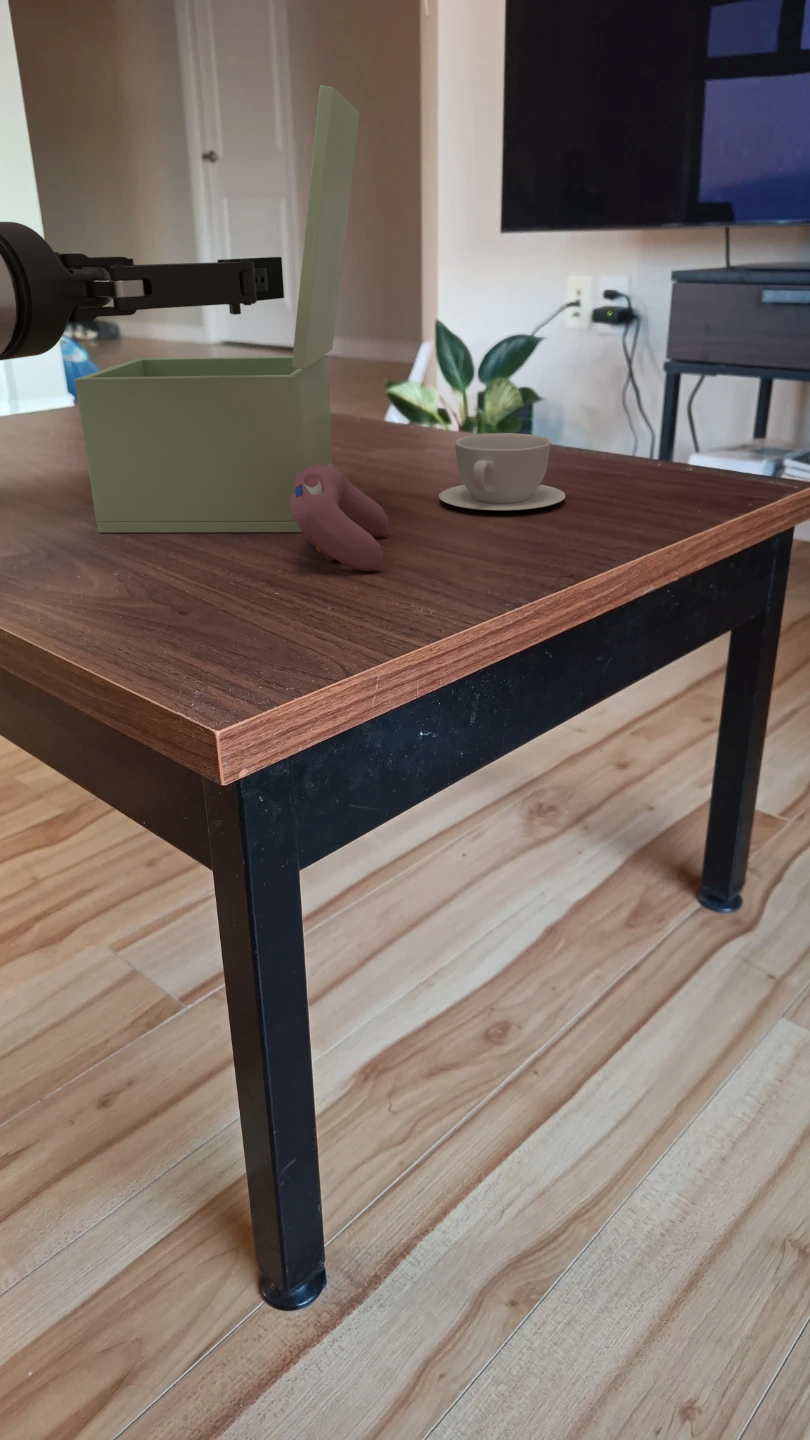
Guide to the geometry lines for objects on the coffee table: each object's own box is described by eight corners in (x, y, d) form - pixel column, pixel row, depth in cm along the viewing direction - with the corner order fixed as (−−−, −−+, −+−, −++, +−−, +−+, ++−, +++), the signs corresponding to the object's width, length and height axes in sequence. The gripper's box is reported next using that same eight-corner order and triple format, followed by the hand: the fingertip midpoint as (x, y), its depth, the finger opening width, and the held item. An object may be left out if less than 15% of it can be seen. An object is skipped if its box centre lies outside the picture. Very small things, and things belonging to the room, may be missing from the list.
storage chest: (97, 532, 75) (74, 378, 71) (153, 491, 88) (136, 358, 83) (307, 532, 74) (298, 375, 70) (334, 491, 86) (327, 355, 82)
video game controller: (339, 555, 74) (289, 468, 72) (395, 526, 73) (346, 437, 70) (325, 598, 65) (268, 501, 63) (388, 566, 64) (333, 465, 62)
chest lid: (319, 84, 62) (333, 87, 62) (348, 110, 75) (359, 112, 75) (291, 367, 69) (303, 369, 69) (321, 348, 82) (332, 350, 82)
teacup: (468, 484, 88) (468, 427, 86) (581, 493, 84) (584, 434, 82) (417, 510, 80) (416, 448, 78) (540, 521, 75) (542, 456, 74)
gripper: (-150, 355, 66) (83, 328, 83) (152, 369, 56) (349, 335, 73) (-180, 226, 63) (68, 225, 80) (134, 215, 53) (344, 217, 70)
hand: (202, 277), depth 77 cm, fingers open, 13 cm apart
